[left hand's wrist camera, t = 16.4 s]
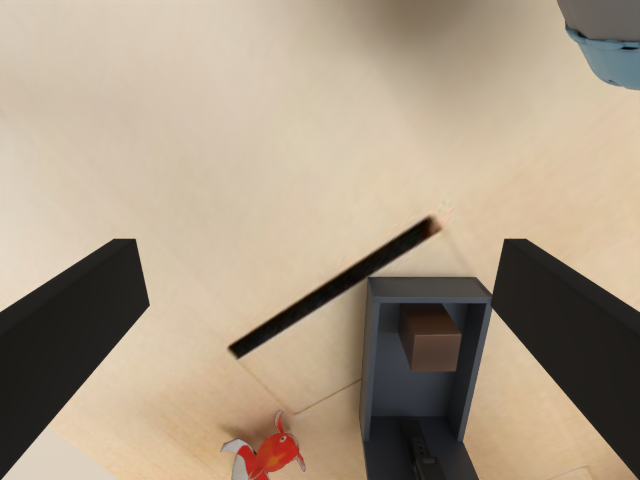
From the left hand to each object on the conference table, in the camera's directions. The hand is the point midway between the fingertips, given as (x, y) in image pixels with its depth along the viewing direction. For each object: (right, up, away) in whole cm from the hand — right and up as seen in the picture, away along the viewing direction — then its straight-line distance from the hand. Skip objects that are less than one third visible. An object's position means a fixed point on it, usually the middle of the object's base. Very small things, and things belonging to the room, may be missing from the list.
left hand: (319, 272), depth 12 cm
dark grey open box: (+13, -14, +34) cm, 39 cm away
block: (+13, -9, +31) cm, 35 cm away
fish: (-8, -29, +40) cm, 50 cm away
